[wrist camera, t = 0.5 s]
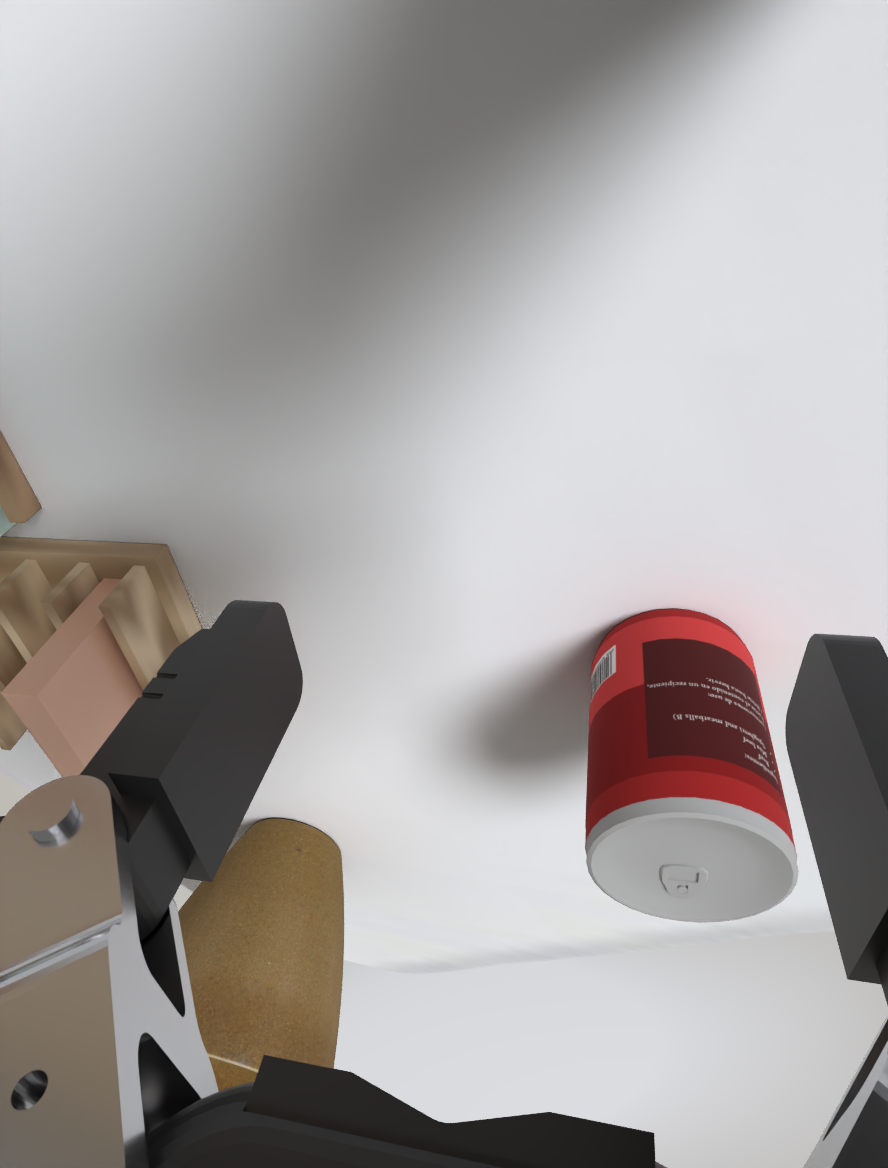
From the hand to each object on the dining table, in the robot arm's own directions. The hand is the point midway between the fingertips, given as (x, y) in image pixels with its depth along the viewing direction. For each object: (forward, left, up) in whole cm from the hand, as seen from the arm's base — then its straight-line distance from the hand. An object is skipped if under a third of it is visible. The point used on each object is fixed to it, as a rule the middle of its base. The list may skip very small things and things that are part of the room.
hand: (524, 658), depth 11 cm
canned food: (+17, +5, -18) cm, 25 cm away
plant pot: (+41, -20, -18) cm, 48 cm away
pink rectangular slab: (+18, -23, -16) cm, 34 cm away
